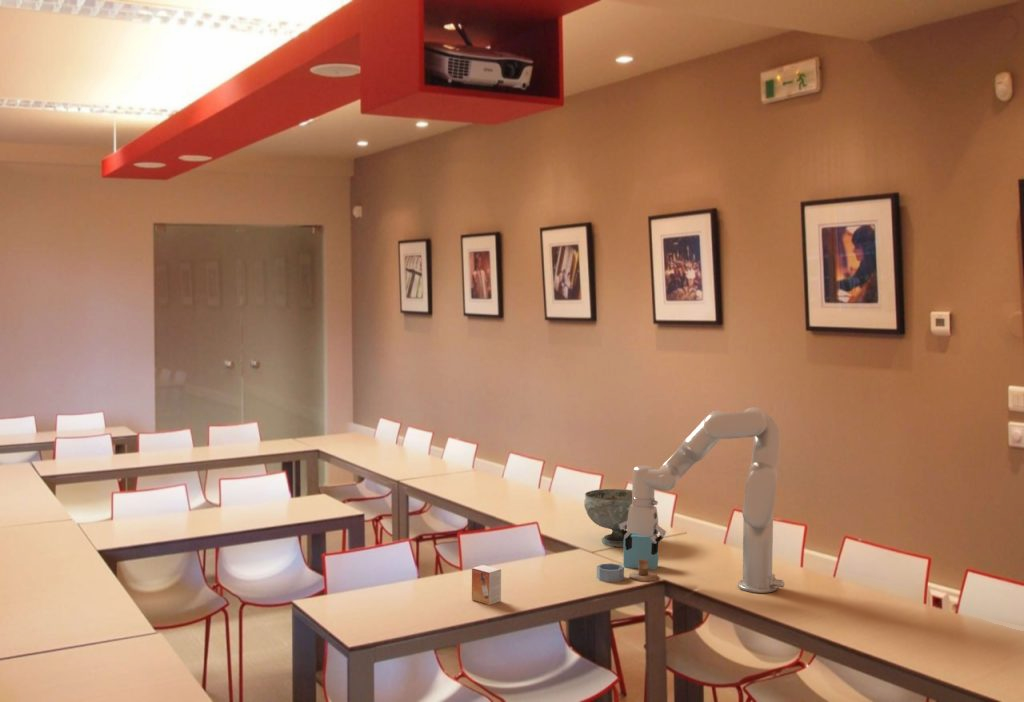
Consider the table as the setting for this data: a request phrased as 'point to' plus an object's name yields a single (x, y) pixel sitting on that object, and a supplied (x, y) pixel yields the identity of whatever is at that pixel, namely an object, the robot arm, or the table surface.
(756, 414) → the robot arm
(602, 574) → the bowl
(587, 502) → the decorative bowl
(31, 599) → the table surface
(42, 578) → the table surface
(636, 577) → the lid
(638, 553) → the data package
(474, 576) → the small box
